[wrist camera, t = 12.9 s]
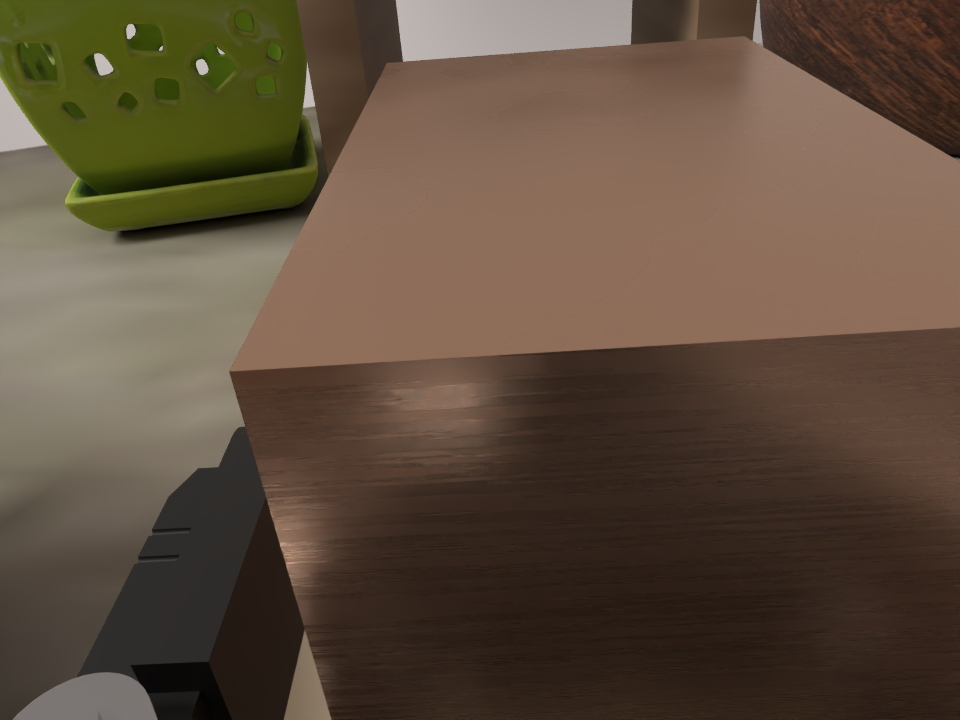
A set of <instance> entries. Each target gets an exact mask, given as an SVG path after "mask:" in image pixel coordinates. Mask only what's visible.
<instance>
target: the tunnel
mask: <svg viewBox="0 0 960 720" xmlns="http://www.w3.org/2000/svg"><path fill="white" fill-rule="evenodd" d="M296 2H297V7H298V13H299V18H300V24H301V29H302V35H303V40H304V46H305V51H306V57H307V62H308V68H309V73H310V79H311V84H312V90H313V95H314V101H315V106H316V112H317V117H318V123H319V128H320V134H321V140H322V145H323V151H324V156H325V162H326V167H327V173H328V177H329V175H330V173H331V171H332V169H333V167H334V166H335V164H336V162H337V160H338V158H339V156H340V154H341V152H342V150H343V148H344V146H345V144H346V142H347V140H348V138H349V136H350V134H351V132H352V130H353V128H354V126H355V124H356V122H357V121H358V119H359V117H360V115H361V113H362V111H363V109H364V107H365V105H366V103H367V101H368V99H369V97H370V95H371V93H372V91H373V89H374V87H375V85H376V83H377V81H378V79H379V78H380V76H381V74H382V72H383V70H384V68H385V66H386V64H387V63H394V62H403V59H402V50H401V42H400V34H399V25H398V16H397V8H396V0H296ZM632 3H633V4H632V33H631V45H633V44H647V43H660V42H673V41H687V40H700V39H713V38H727V37H740V36H745V37H747V38H748V39H750V40H753V30H754V21H755V13H756V4H757V0H633V2H632Z"/></svg>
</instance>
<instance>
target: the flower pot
mask: <svg viewBox="0 0 960 720" xmlns="http://www.w3.org/2000/svg"><path fill="white" fill-rule="evenodd" d="M128 24H133V25H134V26H135V29H136V33H135V35H134V36H133V37H132V38H131V39H127V35H126V28H127V25H128ZM161 46H163V50H162V51H159V48H160V47H161ZM217 47H218V48H219V49H220V50H222V51H223V52H224V53H225V54H223V55H222V54H220V53H219V52H218V49H217ZM96 53H100V54H102V55H104V56H105V57H106V59H107V60H108V61H109V62H110V64H111V65H112V67H113V69H114V70H113V72H111V73H110V74H107V75H103V76H101V75H99V73H98V70H97V67H96V64H95V60H94V54H96ZM199 59H204V60H205V62H206V63H207V65H208V68H209V71H208V73H207V74H204V75H200V74H199V73H198V70H197V68H196V61H197V60H199ZM306 70H307V57H306V51H305V46H304V40H303V35H302V29H301V24H300V18H299V13H298V7H297V2H296V0H0V77H1V79H2V80H3V82H4V84H5V85H6V87H7V89H8V90H9V92H10V93H11V95H12V97H13V98H14V100H15V101H16V103H17V104H18V106H19V107H20V109H21V110H22V112H23V113H24V114H25V116H26V117H27V119H28V120H29V121H30V123H31V124H32V126H33V127H34V128H35V129H36V131H37V132H38V133H39V134H40V136H41V137H42V138H43V139H44V141H45V142H46V143H47V145H48V146H49V147H50V148H51V149H52V150H53V151H54V153H55V154H56V155H57V156H58V157H59V158H60V159H61V160H62V161H63V162H64V163H65V164H66V165H67V166H68V167H69V168H70V169H71V170H72V171H73V172H74V173H75V174H76V175H77V176H78V178H77V180H76V181H75V182H74V184H73V186H72V188H71V189H70V191H69V193H68V195H67V197H66V200H65V206H66V207H67V209H68V210H69V211H70V212H71V213H72V214H73V215H75V216H76V217H77V218H79V219H81V220H82V221H84V222H86V223H88V224H90V225H92V226H94V227H97V228H99V229H102V230H106V231H125V230H139V229H144V228H147V227H155V226H162V225H170V224H177V223H184V222H191V221H198V220H206V219H213V218H220V217H227V216H233V215H240V214H247V213H254V212H260V211H267V210H274V209H289V208H294V207H296V206H297V205H298V204H300V203H302V202H303V201H304V200H305V199H306V198H307V197H308V196H309V194H310V193H311V191H312V189H313V188H314V186H315V184H316V181H317V177H318V161H317V155H316V150H315V145H314V140H313V136H312V132H311V127H310V124H309V121H308V119H307V117H306V116H304V115H302V110H303V102H304V95H305V84H306Z"/></svg>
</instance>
